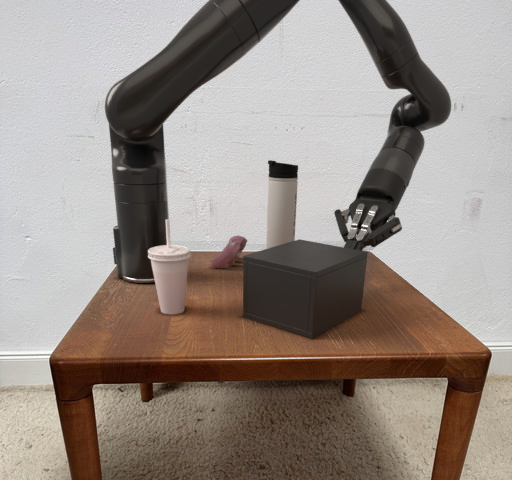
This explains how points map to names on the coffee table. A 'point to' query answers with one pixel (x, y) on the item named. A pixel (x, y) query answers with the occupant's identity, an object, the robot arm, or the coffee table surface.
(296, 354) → the coffee table surface
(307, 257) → the dark grey lidded box
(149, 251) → the smoothie
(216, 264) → the pink rounded figure
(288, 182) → the travel mug
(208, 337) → the coffee table surface
